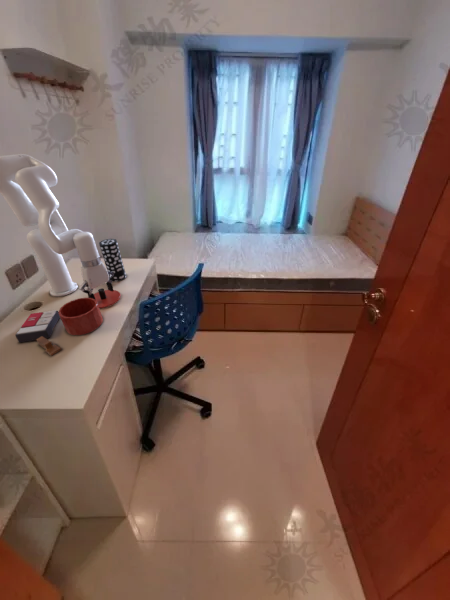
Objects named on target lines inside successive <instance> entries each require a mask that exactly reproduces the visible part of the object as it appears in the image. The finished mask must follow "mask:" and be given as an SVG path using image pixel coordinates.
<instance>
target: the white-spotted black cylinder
mask: <svg viewBox="0 0 450 600" xmlns="http://www.w3.org/2000/svg"><path fill="white" fill-rule="evenodd" d="M98 245H99V248H100V251H101V256H102V259H103V263H104V266H105V268H106V270H107V271H112V272H114V276H113V277H114V278H113V281H112V282H121V281H123V280H125V279H126V278H127V274H126V270H125V266H124V262H123V259H122V255H121V252H120V248H119V244H118V240H117V239H116V238H105V239H103V240H101V241H99V243H98ZM108 275H109V276H110V274H108Z"/></svg>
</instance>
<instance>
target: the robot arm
mask: <svg viewBox="0 0 450 600" xmlns="http://www.w3.org/2000/svg"><path fill="white" fill-rule="evenodd" d="M12 180H15V181H16V182H15V181H12ZM57 184H58V177H57V174H56V173H55V171H54V170H53V169H52V168H51V167H50V166H48V165H47V164H46V163H44V162H43V161H41V160H39V159H37V158H35V157H34V156H31V155H30V154H27V153H17V154H9V155H0V195H1V196H2V197H3V199H4V200H5V202H6V203H7V205H8V206H9V208H10V209H11V211H12V212H13V214H14V216H15V217H16V218H17V220H18V221H19V223H20V225H22V226H24V227H35V226H37V225H38V227H35V228H33V229H32V230H29V232H28V233H27V234H26V241H27V242H28V244H29V246H30V247H31V249H32V250H33V252H34V253H35V255H36V257H37V259H38V262H39V263H40V265H41V268H42V269H43V272H44V274H45V277H46V279H47V281H48V283H49V286H50V289H49V291H48V292H49V294H50V296H51V297H64V296H67V295H71V294H72V293H74V292H75V291H76V290H78V289H79V291H81V292H82V293H84V294H86V295H87V297H88V298H92V299H95V297H94V294H95V293H93V291H94V290H95V289H96V288H99V287H100V286H102V285H104V284H105V285H106V287H107V290H109V291H112V292H113V290H114V286H113V283H114V281H113V278H114V277H113V276H114V272H112V271H107V268H106V265H105V263H104V261H103V260H101V258H102V259H103V255H102V254H99V250H98V247H97V245H96V241H95V238H94V235H93V234H92V233H91V232H90V231H83V230H81V229H78V228H71V229H68V227H67V224H66V223H65V221H64V219H63V217H62V215H61V214H60V213H59V210H58V209H59V207H60V202H59V201H58V199H57V198H56V197H55V195H54V193H53V192H52V191H51V189H50V188H53V187H55V186H57ZM75 249H76V252H77V255H78V257H79V260H80V264H81V266H80V272H81V278H82V283H81V285H80V286H78V284H77V282H75V281H73V280H72V277H71V274H70V272H69V269H68V267H67V264H66V262H65V260H64V257H63V255H65V254H68V253H69V252H71V251H74V250H75ZM108 274H110V276H109V275H108ZM85 288H86V289H85ZM95 300H96V299H95Z"/></svg>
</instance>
